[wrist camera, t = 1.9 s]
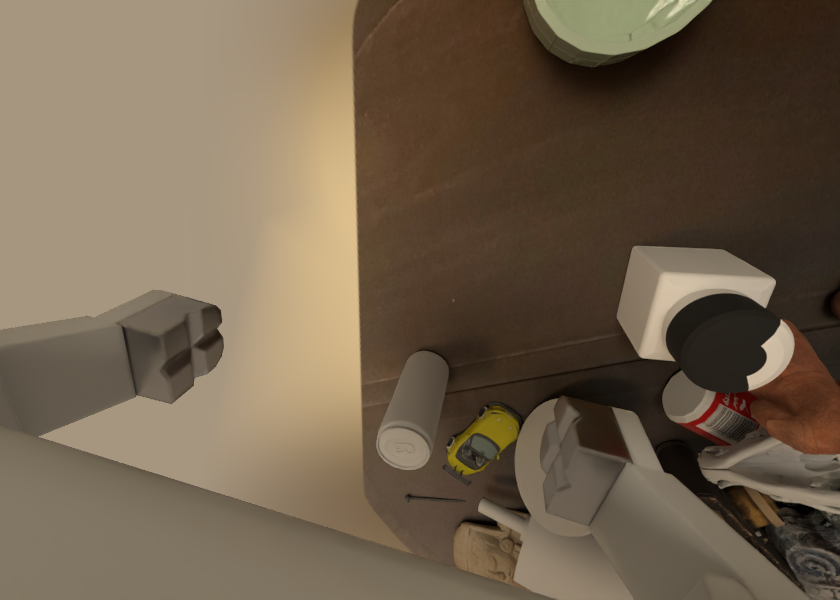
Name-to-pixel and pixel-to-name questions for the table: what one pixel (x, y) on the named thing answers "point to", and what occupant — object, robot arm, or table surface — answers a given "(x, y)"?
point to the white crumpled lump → (773, 470)
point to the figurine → (488, 550)
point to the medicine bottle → (704, 317)
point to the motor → (559, 561)
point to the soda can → (709, 411)
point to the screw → (432, 499)
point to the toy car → (482, 440)
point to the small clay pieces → (802, 400)
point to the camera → (729, 503)
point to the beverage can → (414, 412)
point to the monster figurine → (539, 473)
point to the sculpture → (811, 547)
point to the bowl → (607, 26)
